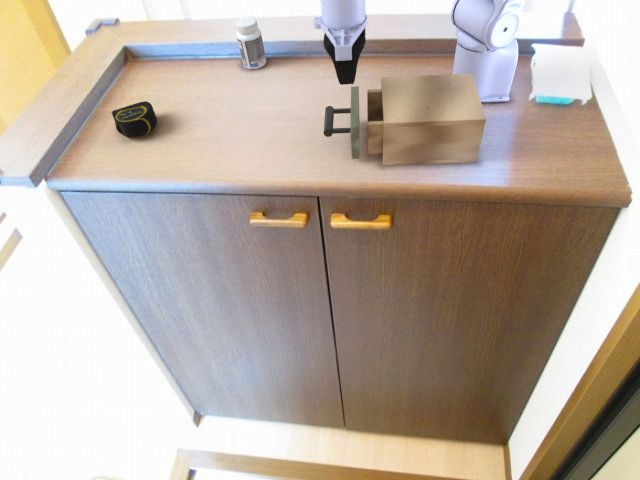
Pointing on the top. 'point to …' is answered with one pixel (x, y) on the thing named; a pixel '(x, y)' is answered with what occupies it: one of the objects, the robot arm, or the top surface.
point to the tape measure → (135, 119)
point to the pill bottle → (250, 43)
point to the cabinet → (431, 119)
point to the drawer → (373, 122)
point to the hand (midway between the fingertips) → (346, 81)
